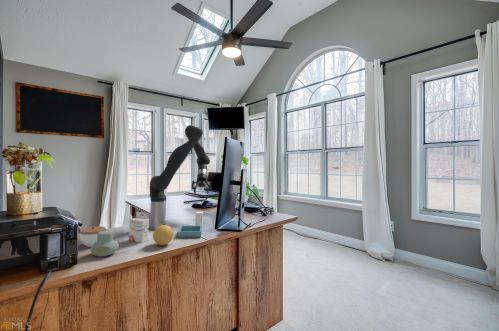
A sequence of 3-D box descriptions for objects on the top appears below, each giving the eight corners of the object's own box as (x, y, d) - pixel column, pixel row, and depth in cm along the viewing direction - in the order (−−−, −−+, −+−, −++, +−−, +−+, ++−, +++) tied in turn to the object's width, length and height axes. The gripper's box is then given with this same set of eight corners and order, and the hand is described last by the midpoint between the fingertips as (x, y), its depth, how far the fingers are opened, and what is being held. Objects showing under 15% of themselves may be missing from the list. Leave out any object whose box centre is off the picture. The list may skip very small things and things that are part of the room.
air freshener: (86, 258, 99) (87, 235, 99) (94, 251, 107) (95, 229, 107) (115, 257, 101) (115, 234, 101) (120, 250, 110) (121, 229, 110)
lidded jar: (83, 242, 118) (83, 223, 118) (107, 240, 122) (108, 222, 122) (76, 249, 108) (76, 229, 108) (102, 247, 112) (103, 228, 112)
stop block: (195, 228, 150) (195, 213, 150) (195, 226, 155) (196, 211, 155) (202, 228, 151) (202, 213, 151) (202, 226, 155) (203, 211, 155)
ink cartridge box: (128, 241, 122) (129, 213, 122) (135, 238, 127) (136, 211, 127) (141, 243, 120) (142, 214, 120) (148, 240, 125) (149, 213, 125)
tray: (177, 237, 130) (178, 231, 130) (180, 231, 143) (181, 225, 143) (200, 237, 132) (201, 231, 132) (201, 231, 145) (202, 225, 145)
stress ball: (169, 249, 115) (180, 233, 121) (156, 237, 110) (169, 220, 117) (157, 248, 120) (169, 232, 127) (145, 236, 116) (158, 220, 123)
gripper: (192, 172, 174) (190, 189, 162) (211, 172, 176) (211, 189, 165) (192, 179, 179) (191, 196, 168) (211, 179, 181) (211, 196, 170)
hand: (201, 192), depth 166 cm, fingers open, 8 cm apart
